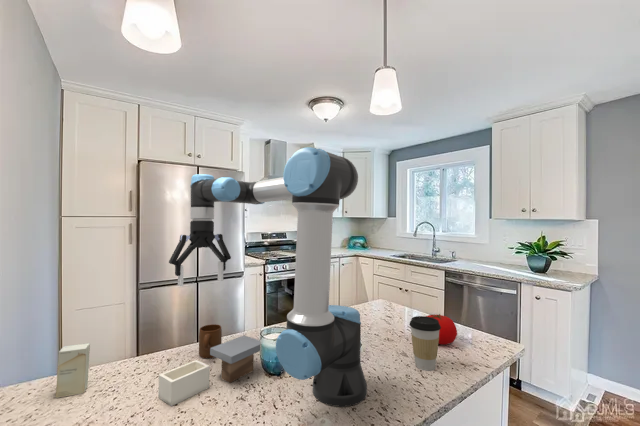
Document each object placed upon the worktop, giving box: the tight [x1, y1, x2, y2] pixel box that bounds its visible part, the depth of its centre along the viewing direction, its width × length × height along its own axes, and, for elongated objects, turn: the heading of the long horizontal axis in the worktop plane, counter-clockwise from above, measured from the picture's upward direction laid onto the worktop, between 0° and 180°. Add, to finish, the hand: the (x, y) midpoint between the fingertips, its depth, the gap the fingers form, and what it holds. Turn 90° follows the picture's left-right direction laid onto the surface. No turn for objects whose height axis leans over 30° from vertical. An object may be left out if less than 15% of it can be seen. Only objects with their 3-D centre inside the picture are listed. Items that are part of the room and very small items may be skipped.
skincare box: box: [55, 342, 91, 399], centre depth 83 cm, size 6×4×12 cm
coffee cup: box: [409, 315, 441, 372], centre depth 99 cm, size 10×10×15 cm
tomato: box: [425, 313, 458, 346], centre depth 120 cm, size 14×13×10 cm
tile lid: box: [210, 334, 261, 364], centre depth 93 cm, size 10×13×2 cm
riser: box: [220, 353, 255, 384], centre depth 93 cm, size 4×9×7 cm, turn 144°
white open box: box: [157, 359, 211, 407], centre depth 83 cm, size 6×11×6 cm, turn 144°
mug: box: [198, 324, 223, 359], centre depth 105 cm, size 12×8×9 cm, turn 9°
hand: (201, 283), depth 102 cm, fingers open, 13 cm apart
